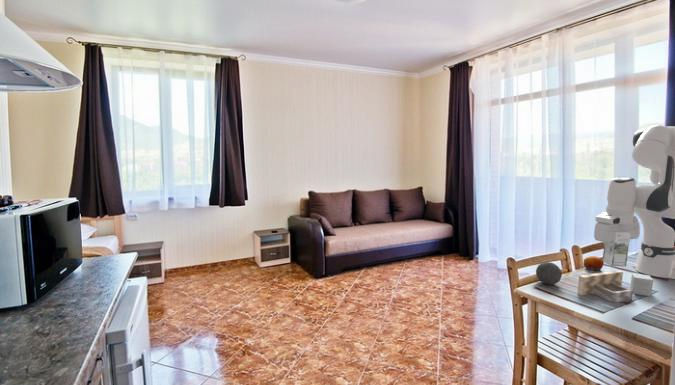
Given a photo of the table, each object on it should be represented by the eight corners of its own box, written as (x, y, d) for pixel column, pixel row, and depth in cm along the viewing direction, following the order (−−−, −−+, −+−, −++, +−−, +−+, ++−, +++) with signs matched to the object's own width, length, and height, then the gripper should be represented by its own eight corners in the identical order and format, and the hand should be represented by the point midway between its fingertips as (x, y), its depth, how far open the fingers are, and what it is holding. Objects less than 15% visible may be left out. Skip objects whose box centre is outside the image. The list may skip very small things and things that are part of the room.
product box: (648, 291, 147) (650, 275, 146) (651, 297, 142) (653, 280, 141) (629, 288, 151) (631, 272, 150) (632, 293, 146) (634, 277, 145)
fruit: (591, 270, 169) (587, 254, 172) (583, 273, 176) (579, 257, 179) (609, 271, 167) (605, 255, 171) (600, 274, 175) (596, 258, 178)
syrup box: (616, 262, 144) (620, 228, 142) (626, 266, 138) (630, 231, 136) (602, 261, 145) (605, 228, 143) (611, 266, 139) (615, 231, 137)
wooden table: (616, 287, 152) (618, 270, 151) (642, 297, 142) (645, 279, 140) (577, 293, 146) (578, 275, 145) (602, 304, 136) (604, 285, 135)
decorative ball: (533, 278, 163) (534, 258, 162) (557, 280, 160) (559, 260, 158) (537, 286, 154) (539, 265, 152) (563, 289, 150) (565, 267, 149)
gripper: (629, 214, 144) (626, 246, 146) (592, 217, 139) (589, 250, 141) (646, 217, 138) (642, 250, 140) (608, 220, 133) (604, 254, 135)
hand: (615, 250), depth 141 cm, fingers closed on syrup box, 7 cm apart
